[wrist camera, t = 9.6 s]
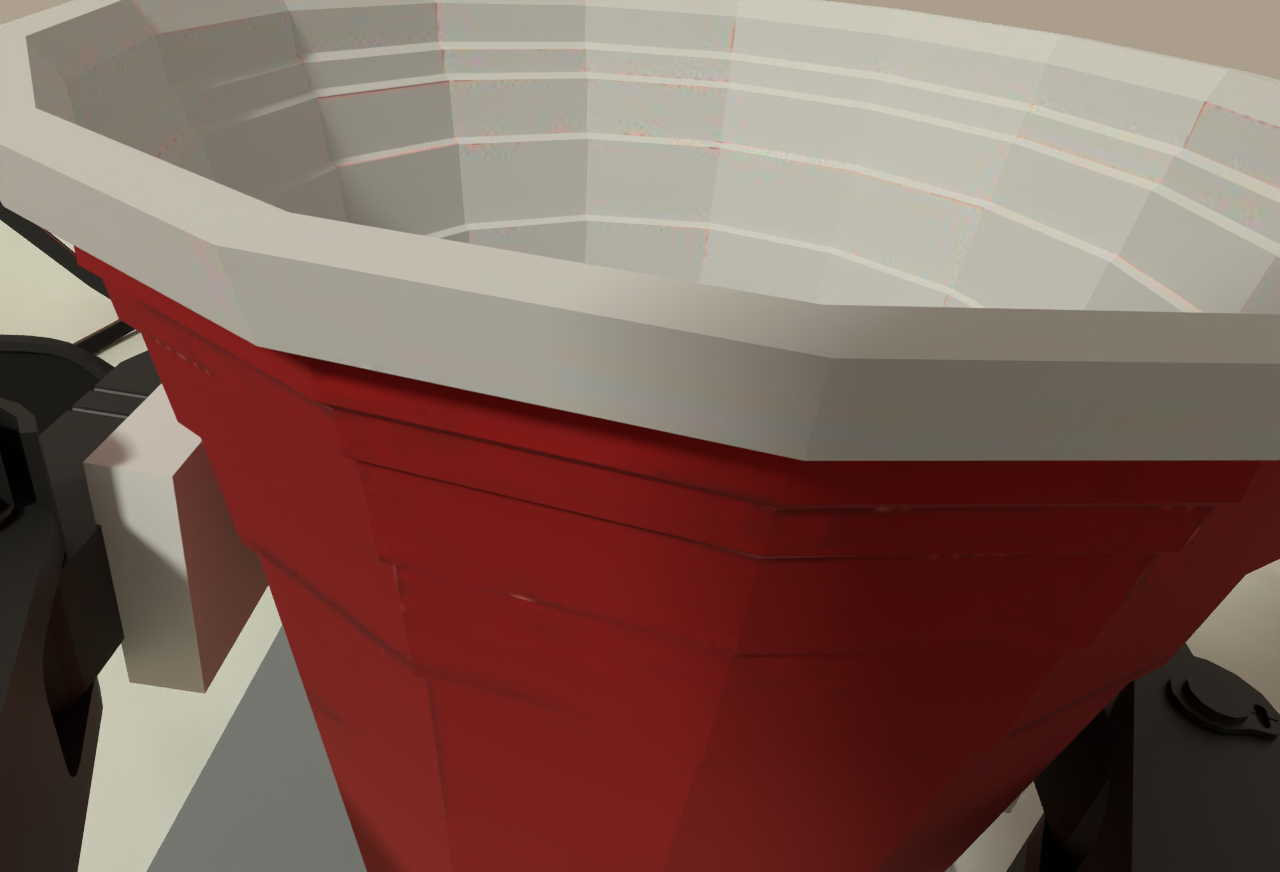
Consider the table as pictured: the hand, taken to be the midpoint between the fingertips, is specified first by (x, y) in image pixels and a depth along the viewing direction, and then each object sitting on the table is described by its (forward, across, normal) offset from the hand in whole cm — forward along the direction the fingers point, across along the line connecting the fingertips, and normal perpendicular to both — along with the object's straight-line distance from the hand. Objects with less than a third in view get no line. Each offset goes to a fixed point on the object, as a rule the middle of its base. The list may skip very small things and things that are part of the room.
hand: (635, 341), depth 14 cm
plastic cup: (-5, 0, -7) cm, 8 cm away
